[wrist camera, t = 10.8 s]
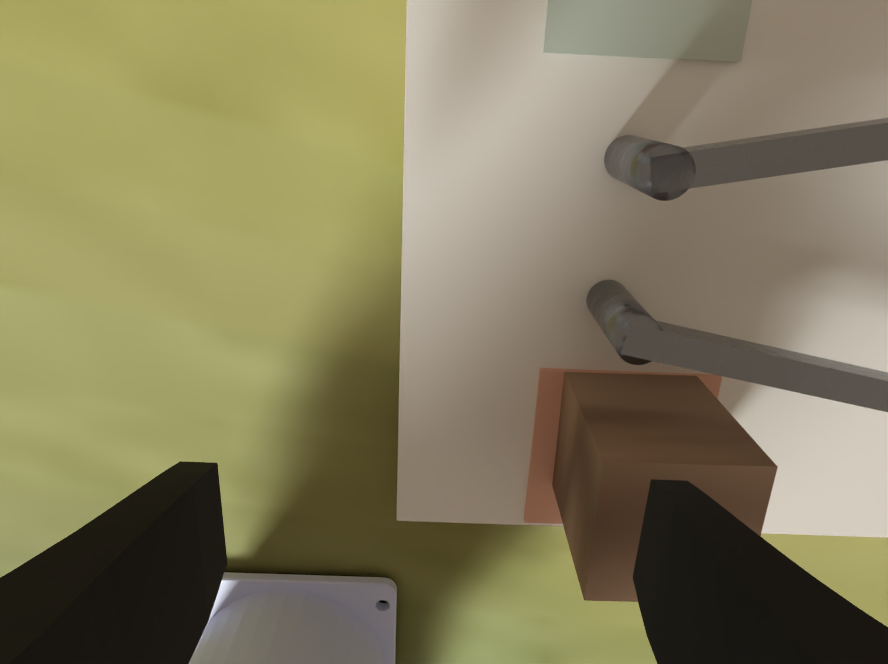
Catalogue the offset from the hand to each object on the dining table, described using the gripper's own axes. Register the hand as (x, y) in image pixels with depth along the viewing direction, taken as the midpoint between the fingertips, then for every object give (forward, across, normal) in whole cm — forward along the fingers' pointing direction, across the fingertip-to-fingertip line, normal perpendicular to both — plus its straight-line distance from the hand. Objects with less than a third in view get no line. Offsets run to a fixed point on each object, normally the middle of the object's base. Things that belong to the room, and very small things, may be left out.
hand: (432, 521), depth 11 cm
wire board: (+10, -8, -3) cm, 13 cm away
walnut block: (+9, -6, +3) cm, 11 cm away
